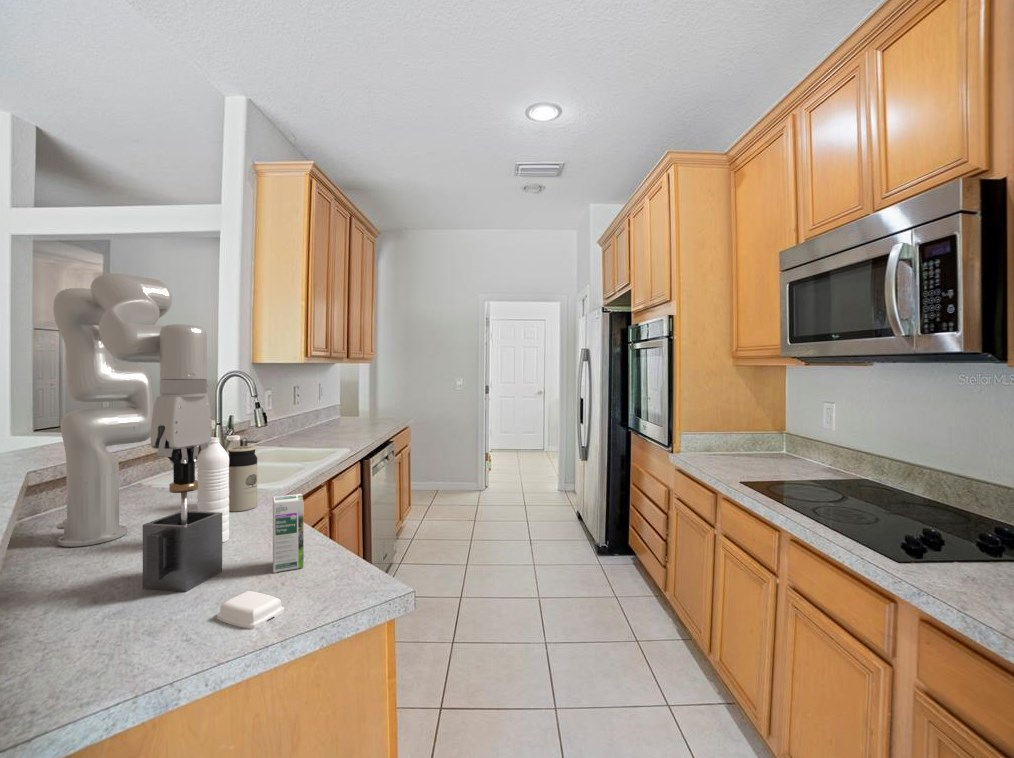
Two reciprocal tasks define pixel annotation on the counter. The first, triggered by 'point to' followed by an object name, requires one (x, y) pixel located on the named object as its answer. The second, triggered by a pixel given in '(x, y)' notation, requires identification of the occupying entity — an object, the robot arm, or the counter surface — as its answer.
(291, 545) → the syrup box
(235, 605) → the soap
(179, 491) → the plunger
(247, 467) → the travel mug
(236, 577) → the counter surface
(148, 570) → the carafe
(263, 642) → the counter surface
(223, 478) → the water bottle
